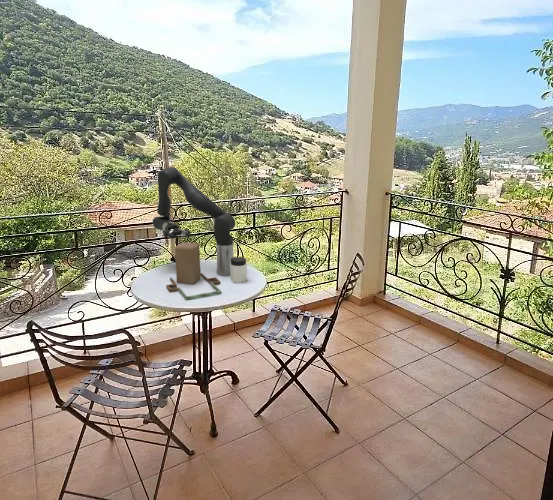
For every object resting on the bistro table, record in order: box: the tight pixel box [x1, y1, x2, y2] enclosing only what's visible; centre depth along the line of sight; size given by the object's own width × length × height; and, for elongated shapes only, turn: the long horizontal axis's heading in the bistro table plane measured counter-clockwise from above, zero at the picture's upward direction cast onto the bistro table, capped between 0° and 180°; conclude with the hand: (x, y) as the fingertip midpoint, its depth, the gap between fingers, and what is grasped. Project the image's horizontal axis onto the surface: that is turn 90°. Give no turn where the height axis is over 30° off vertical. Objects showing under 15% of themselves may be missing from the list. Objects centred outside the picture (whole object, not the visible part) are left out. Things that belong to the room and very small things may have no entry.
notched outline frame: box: [165, 272, 222, 301], centre depth 199 cm, size 26×30×2 cm
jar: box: [229, 256, 248, 284], centre depth 208 cm, size 9×8×12 cm
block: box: [174, 242, 202, 285], centre depth 205 cm, size 10×10×20 cm
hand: (181, 236), depth 210 cm, fingers open, 8 cm apart
